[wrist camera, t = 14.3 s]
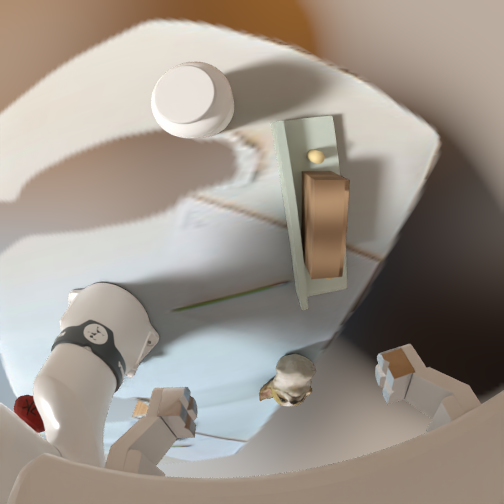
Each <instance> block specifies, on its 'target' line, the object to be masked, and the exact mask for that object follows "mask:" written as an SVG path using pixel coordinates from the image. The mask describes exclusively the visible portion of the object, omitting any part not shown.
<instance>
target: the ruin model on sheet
mask: <svg viewBox="0 0 504 504" xmlns="http://www.w3.org/2000/svg"><path fill="white" fill-rule="evenodd" d="M147 410H148V405H147V404H145V403H144V402H141V401H137V404H136V407H135V409H134V412H133V415H132V417H134V416H138V415H146V414H147Z"/></svg>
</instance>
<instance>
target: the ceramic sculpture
mask: <svg viewBox="0 0 504 504" xmlns="http://www.w3.org/2000/svg"><path fill="white" fill-rule="evenodd" d="M276 371H277V373H276V376H275V377H274V379H273V380H271V381H270V382H268V383H266V384H265V385H263V387H262V388H261V389H260V393H259V396H260V401H262V400H264V399H266V398H267V399H268V398H269V399H270V398H273V397H274V399H275V400H276V402H277V403H279V404H280V405H283V406H296V405H298V404H300V403H301V402H303V401H304V400H305V397H306V396H308V395H309V394H311V392H312V388H311V386H310V385H311V378H312V377H313V375H314V374H315V372H316V369H315V367H314V364H313V363H312V361H311V360H309V359H308V358H307V357H304V356H301V355H298V354H291V355H287V356H283V357H281V358H280V360H279V361H278V363H277V366H276Z"/></svg>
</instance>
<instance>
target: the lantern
mask: <svg viewBox="0 0 504 504" xmlns="http://www.w3.org/2000/svg"><path fill="white" fill-rule="evenodd" d="M14 412H15V413H16V414H17V415H18V416H19V417H20V418H21V419H22V420H23V421H24V422H25V423H27V424H28V425H29V426H30V427H31V428H32V429H33V430H35V431H36V432H37V433H40V432H43V431H45V427H44V423H43V420H42V418H41V416H40V414H39V412H38V409H37V407H36V405H35V402H34V399H33V396H30V395H24V396H20V397H19V398H18V399H17V400H16V401H15V406H14Z"/></svg>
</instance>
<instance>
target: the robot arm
mask: <svg viewBox="0 0 504 504" xmlns="http://www.w3.org/2000/svg"><path fill="white" fill-rule="evenodd" d="M68 298H69V307H68V309H67V310H66V312H65V313H64V315H63V316H62V318H61V320H60V322H59V323H60V329H61V333H60V334H59V335H58V337H57V338H56V340H55V342H54V344H53V346H52V349H51V354H50V355H49V357H48V358H47V360H46V362H45V363H44V365H43V366H42V368H41V370H40V371H39V373H38V374H37V376H36V378H35V380H34V383H33V399H34V402H35V405H36V407H37V409H38V412H39V414H40V416H41V418H42V420H43V423H44V427H45V433H46V439H44V438H43V437H42V436H41V435H39V434H38V433H37V432H36V431H35V430H33V429H32V428H31V427H30V426H29V425H28V424H27V423H25V422H24V421H23V420H22V419H21V418H20V417H19V416H18V415H17V414H16V413H14V412H13V411H12V410H10V409H9V408H8V407H6V406H5V405H3V404H2V403H1V402H0V504H504V391H502V392H501V393H499V394H497V395H496V396H494V397H493V398H492V399H490V400H488V401H487V402H485V403H483V404H480V402H479V400H478V399H477V398H476V396H475V394H474V393H473V391H472V390H471V388H470V386H469V385H466V384H464V383H462V382H460V381H458V380H456V379H454V378H451V377H449V376H447V375H445V374H443V373H441V372H439V371H436V370H434V369H432V368H430V367H428V368H426V367H425V365H424V363H423V362H422V360H421V359H420V357H419V356H418V354H417V353H416V351H415V350H414V348H413V347H412V345H411V344H407V345H404V346H402V347H398V348H395V349H391V350H388V351H385V352H382V353H379V354H378V356H377V361H378V365H377V366H376V370H375V374H376V379H377V383H378V385H379V386H380V387H382V388H383V393H382V394H383V396H384V398H385V401H386V403H387V404H391V403H394V402H397V401H400V400H403V399H405V401H407V402H408V403H410V404H411V405H412V406H414V407H415V408H417V409H418V410H420V411H421V412H423V413H424V414H426V415H427V416H428V417H430V418H431V419H432V421H431V423H430V424H429V426H428V428H427V430H426V431H427V433H425V434H423V435H420V436H418V437H416V438H413V439H410V440H408V441H405V442H403V443H400V444H397V445H395V446H392V447H389V448H386V449H383V450H380V451H377V452H374V453H371V454H367V455H364V456H361V457H357V458H353V459H350V460H346V461H342V462H338V463H334V464H329V465H326V466H320V467H316V468H310V469H305V470H299V471H293V472H286V473H279V474H270V475H261V476H249V477H236V478H234V477H233V478H182V477H165V474H164V473H163V472H162V471H161V470H160V469H159V468H158V467H157V466H156V465H157V464H158V463H159V462H160V460H161V459H162V458H163V456H164V455H165V454H166V453H167V451H168V450H169V449H170V447H171V446H172V445H173V443H174V442H175V441H176V439H177V438H192V437H195V430H196V424H195V423H194V420H195V419H196V418H197V404H196V401H195V399H194V398H193V397H191V396H190V390H189V389H188V387H175V388H154V390H153V391H152V395H151V399H150V402H149V406H148V410H147V414H146V416H143V417H142V418H141V419H140V420H139V421H138V422H136V423H135V424H134V425H133V426H132V427H131V428H130V429H129V430H128V431H127V432H126V433H125V434H124V435H122V436H121V437H120V438H119V439H118V440H117V441H116V442H115V443H114V444H113V445H112V446H111V448H110V451H109V454H108V458H107V461H106V460H105V454H104V443H103V434H104V425H105V421H106V417H107V414H108V410H109V407H110V404H111V401H112V398H113V395H114V393H115V392H116V391H117V390H118V389H119V387H120V386H121V384H122V382H123V379H124V376H125V375H126V376H128V377H130V378H133V376H134V375H135V373H136V370H137V368H138V366H139V363H140V362H141V361H142V360H143V358H144V357H145V356H146V355H147V354H148V353H149V352H150V351H151V349H152V348H153V347H154V346H155V345H156V344H157V343H158V341H159V339H160V337H159V335H158V333H157V332H156V331H155V329H154V328H153V327H152V326H151V324H150V321H149V318H148V315H147V313H146V311H145V309H144V307H143V306H142V304H141V303H140V302H139V301H138V300H137V299H136V298H135V297H134V296H133V295H132V294H131V293H129V292H128V291H126V290H125V289H123V288H121V287H119V286H116V285H113V284H109V283H95V284H92V285H90V286H88V287H86V288H85V289H82V290H72V291H71V292H70V294H69V296H68ZM150 341H151V342H150Z"/></svg>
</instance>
